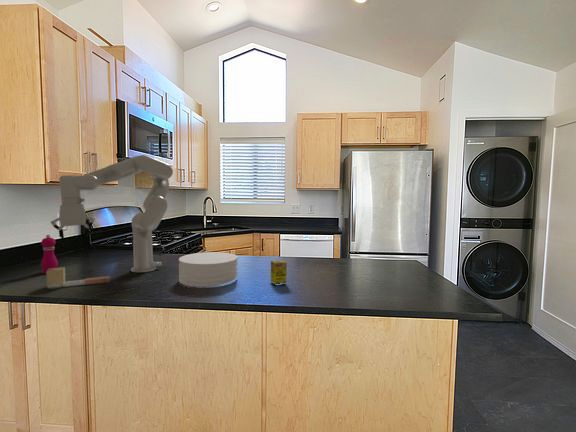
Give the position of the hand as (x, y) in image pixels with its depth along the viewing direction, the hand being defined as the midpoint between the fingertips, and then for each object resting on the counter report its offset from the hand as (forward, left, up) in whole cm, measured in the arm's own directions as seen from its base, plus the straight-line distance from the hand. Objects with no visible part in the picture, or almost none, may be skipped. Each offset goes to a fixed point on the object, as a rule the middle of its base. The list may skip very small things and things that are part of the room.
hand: (74, 237), depth 151 cm
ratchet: (-1, +8, -21) cm, 22 cm away
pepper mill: (+14, -24, -21) cm, 35 cm away
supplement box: (-85, +48, -21) cm, 100 cm away
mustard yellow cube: (+7, +8, -19) cm, 22 cm away
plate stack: (-57, +27, -21) cm, 67 cm away
